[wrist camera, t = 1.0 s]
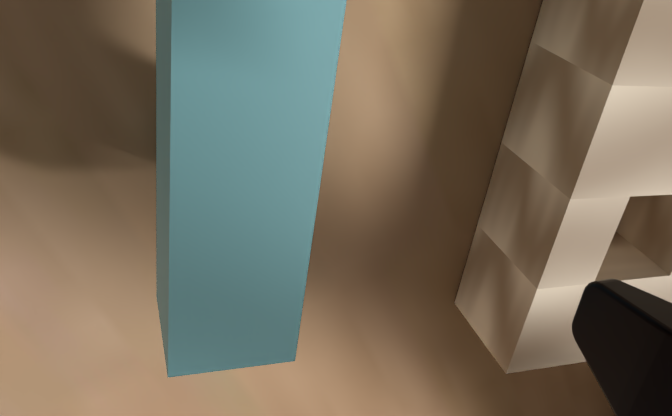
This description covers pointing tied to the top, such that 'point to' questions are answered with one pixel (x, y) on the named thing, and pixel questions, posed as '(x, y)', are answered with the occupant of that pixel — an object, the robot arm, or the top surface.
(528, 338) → the beige patterned block
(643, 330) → the robot arm
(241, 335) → the clip
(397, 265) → the top surface
